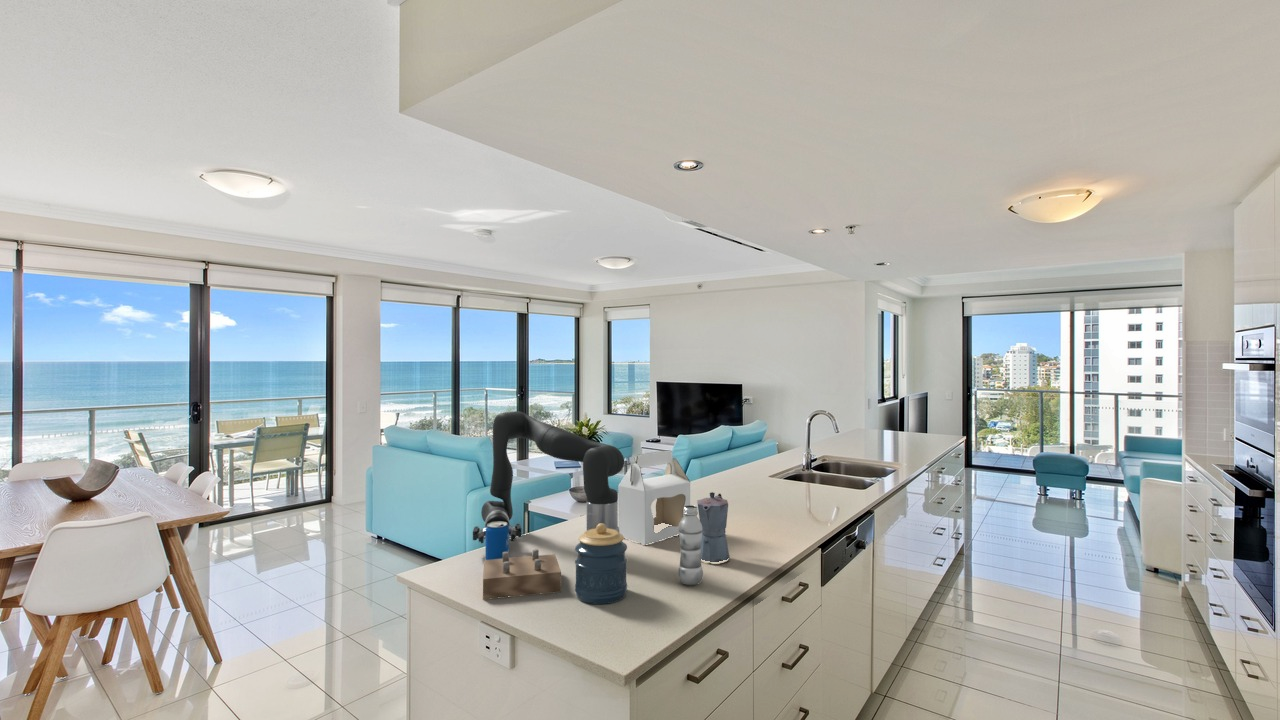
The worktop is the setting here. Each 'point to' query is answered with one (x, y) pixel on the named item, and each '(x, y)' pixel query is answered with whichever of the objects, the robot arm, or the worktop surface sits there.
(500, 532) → the beverage can
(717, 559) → the moka pot
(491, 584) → the peg board
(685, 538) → the plastic bottle
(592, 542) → the canister
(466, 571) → the worktop surface
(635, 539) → the gable box
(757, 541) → the worktop surface
